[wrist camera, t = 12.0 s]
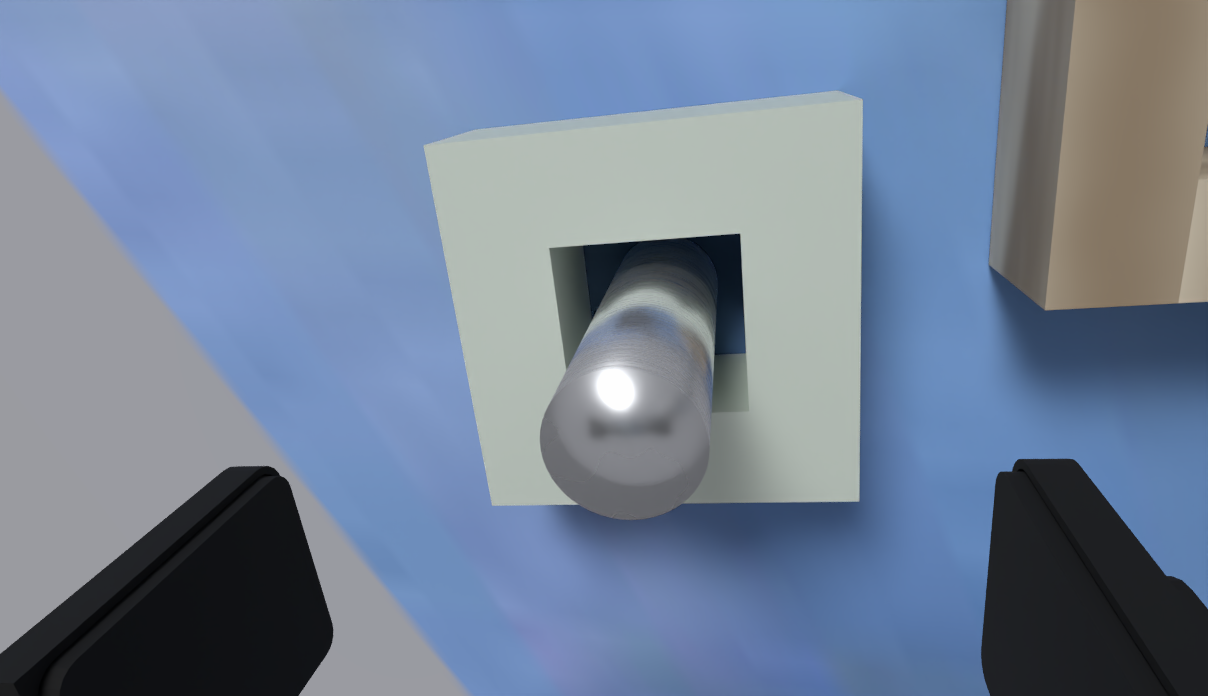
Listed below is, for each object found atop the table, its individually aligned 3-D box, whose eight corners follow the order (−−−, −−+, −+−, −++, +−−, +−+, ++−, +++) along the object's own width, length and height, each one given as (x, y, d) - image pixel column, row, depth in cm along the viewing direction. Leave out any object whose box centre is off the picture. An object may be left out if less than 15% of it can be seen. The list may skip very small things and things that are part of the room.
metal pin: (714, 231, 22) (703, 364, 12) (720, 328, 23) (714, 519, 13) (612, 238, 22) (528, 372, 13) (622, 334, 23) (551, 520, 14)
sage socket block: (837, 90, 20) (862, 99, 16) (838, 430, 23) (859, 501, 19) (475, 129, 22) (423, 145, 18) (526, 438, 25) (492, 505, 21)
